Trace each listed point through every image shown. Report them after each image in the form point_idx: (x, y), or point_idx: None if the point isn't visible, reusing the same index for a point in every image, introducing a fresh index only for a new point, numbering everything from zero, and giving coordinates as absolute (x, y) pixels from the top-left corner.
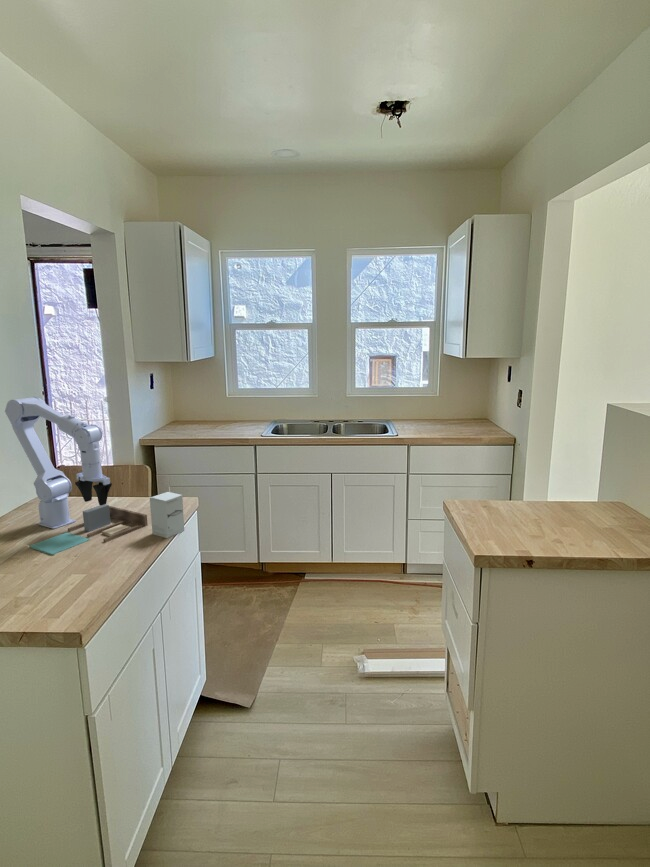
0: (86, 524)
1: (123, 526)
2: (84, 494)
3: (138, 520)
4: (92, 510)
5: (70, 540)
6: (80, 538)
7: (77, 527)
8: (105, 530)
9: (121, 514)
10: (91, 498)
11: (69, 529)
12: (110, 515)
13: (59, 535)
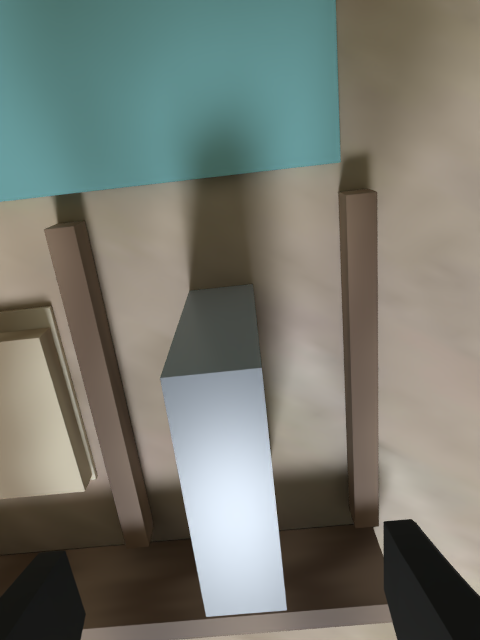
0: (214, 311)
1: (21, 481)
2: (441, 636)
3: None
4: (182, 448)
5: (98, 69)
6: (76, 158)
7: (344, 273)
8: (38, 364)
9: None
10: (391, 614)
11: (347, 195)
12: (346, 542)
13: (322, 70)
